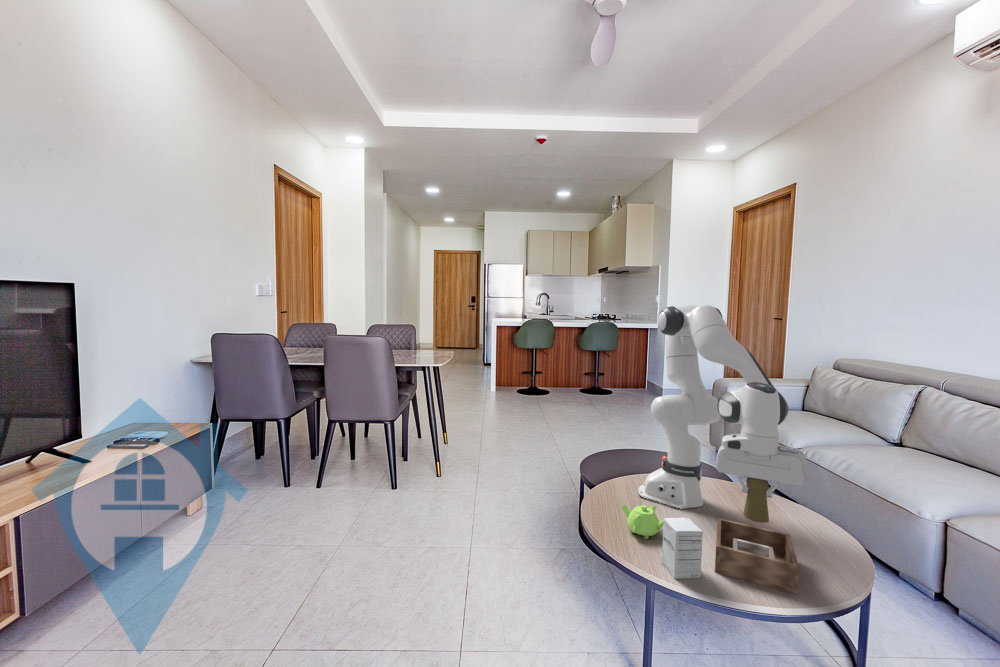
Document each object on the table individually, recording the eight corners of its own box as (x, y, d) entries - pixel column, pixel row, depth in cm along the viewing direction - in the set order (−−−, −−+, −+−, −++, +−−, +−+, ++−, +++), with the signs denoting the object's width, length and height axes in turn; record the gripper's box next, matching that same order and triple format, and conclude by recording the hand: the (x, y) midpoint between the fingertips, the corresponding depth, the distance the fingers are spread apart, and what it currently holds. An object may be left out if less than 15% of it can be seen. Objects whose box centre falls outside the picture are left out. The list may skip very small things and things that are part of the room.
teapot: (630, 541, 125) (631, 514, 125) (619, 522, 137) (620, 497, 136) (667, 543, 125) (669, 515, 125) (653, 523, 137) (655, 498, 136)
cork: (770, 516, 114) (772, 477, 114) (767, 525, 110) (769, 483, 109) (744, 510, 118) (746, 471, 118) (741, 518, 113) (743, 477, 113)
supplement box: (660, 562, 115) (662, 517, 114) (686, 562, 115) (688, 516, 115) (673, 579, 108) (675, 531, 107) (701, 578, 108) (703, 530, 108)
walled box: (714, 571, 111) (716, 545, 111) (716, 540, 127) (717, 518, 127) (797, 594, 103) (798, 566, 102) (788, 558, 118) (789, 534, 118)
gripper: (804, 447, 111) (801, 498, 112) (717, 435, 121) (715, 482, 121) (808, 453, 106) (805, 507, 106) (716, 440, 115) (714, 490, 116)
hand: (756, 494), depth 114 cm, fingers closed on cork, 4 cm apart
